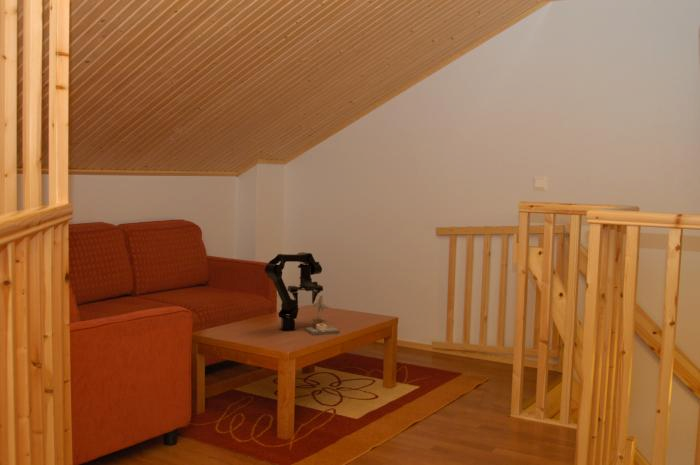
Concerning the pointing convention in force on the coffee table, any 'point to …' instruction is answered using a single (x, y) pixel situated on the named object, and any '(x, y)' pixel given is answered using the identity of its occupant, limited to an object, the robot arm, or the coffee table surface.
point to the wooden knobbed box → (316, 321)
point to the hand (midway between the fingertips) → (305, 304)
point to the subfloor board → (316, 332)
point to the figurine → (320, 305)
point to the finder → (321, 327)
